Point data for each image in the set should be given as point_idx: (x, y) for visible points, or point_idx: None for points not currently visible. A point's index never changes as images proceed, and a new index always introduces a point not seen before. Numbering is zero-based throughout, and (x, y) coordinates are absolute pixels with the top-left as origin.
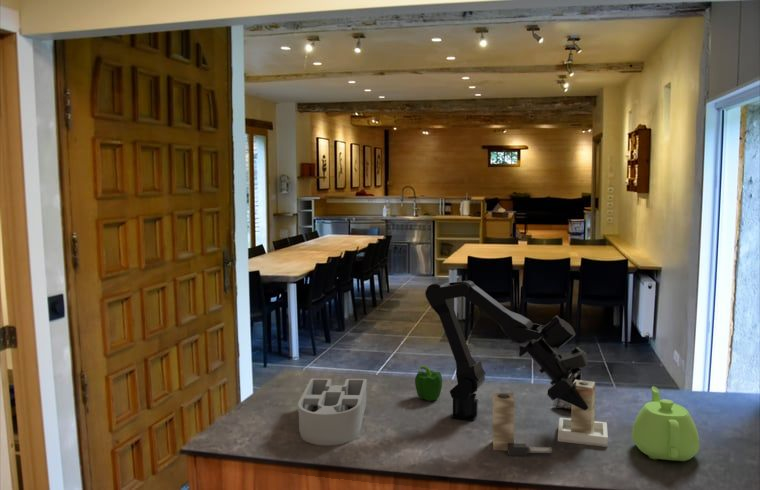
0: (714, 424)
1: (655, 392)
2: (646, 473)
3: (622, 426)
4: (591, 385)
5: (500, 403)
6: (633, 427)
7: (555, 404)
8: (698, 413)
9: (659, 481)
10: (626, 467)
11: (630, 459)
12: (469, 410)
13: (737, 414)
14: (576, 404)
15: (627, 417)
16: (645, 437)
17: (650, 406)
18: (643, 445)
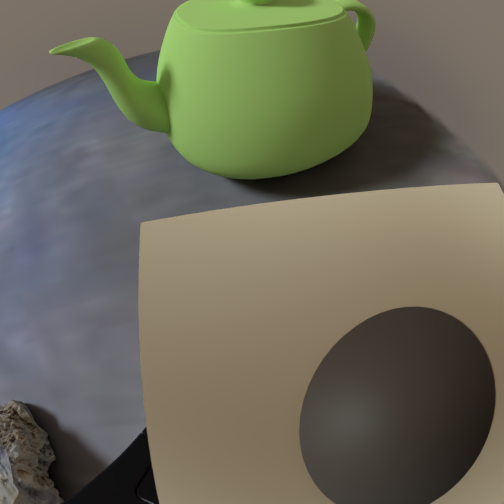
0: (49, 115)
1: (96, 39)
2: (424, 142)
3: (104, 273)
4: (418, 217)
5: None
6: (303, 134)
7: None
8: (2, 154)
9: (433, 121)
10: (435, 183)
11: (382, 182)
12: None
13: (10, 115)
14: None
15: (31, 277)
16: (371, 96)
17: (266, 18)
18: (367, 122)
